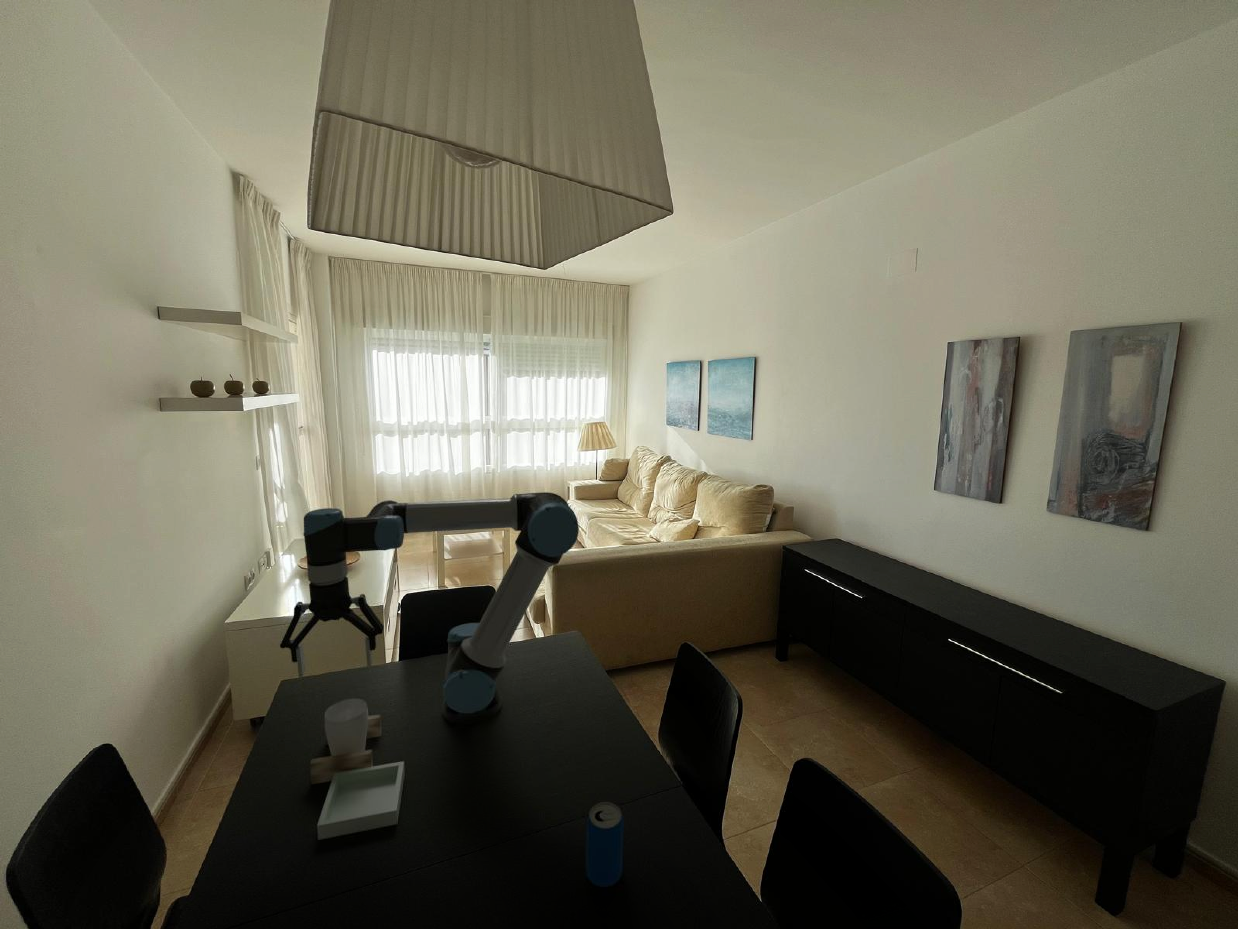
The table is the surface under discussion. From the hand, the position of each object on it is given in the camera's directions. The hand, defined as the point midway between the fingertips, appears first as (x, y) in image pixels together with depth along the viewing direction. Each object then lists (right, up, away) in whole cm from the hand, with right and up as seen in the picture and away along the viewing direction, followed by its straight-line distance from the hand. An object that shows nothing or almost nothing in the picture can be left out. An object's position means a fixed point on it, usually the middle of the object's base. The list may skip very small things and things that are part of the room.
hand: (336, 668), depth 117 cm
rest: (+1, -22, +4) cm, 23 cm away
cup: (+1, -22, +4) cm, 23 cm away
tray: (+11, -24, -10) cm, 28 cm away
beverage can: (+61, -28, -23) cm, 71 cm away
